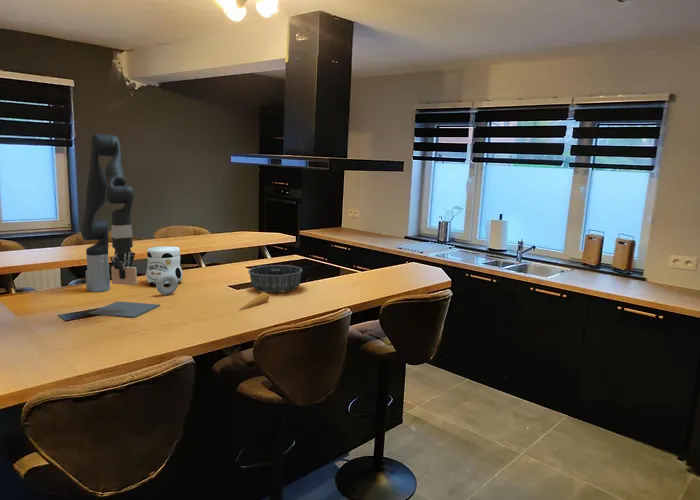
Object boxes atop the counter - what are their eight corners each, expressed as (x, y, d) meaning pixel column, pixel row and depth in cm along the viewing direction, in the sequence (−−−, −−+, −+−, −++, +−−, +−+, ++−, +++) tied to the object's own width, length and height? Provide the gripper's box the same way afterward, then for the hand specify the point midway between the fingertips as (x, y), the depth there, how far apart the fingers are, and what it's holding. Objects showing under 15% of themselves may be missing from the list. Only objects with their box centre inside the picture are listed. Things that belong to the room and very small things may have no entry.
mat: (88, 314, 200) (88, 312, 200) (117, 302, 217) (117, 301, 217) (134, 317, 196) (134, 316, 196) (159, 306, 214) (159, 304, 214)
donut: (157, 297, 228) (157, 275, 226) (155, 295, 231) (154, 274, 229) (179, 294, 234) (178, 273, 233) (176, 292, 237) (175, 271, 235)
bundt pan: (237, 292, 241) (237, 271, 239) (266, 281, 265) (266, 262, 264) (285, 298, 231) (286, 277, 230) (311, 286, 255) (311, 267, 254)
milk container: (148, 289, 243) (146, 252, 240) (144, 281, 258) (143, 246, 255) (185, 285, 251) (184, 250, 248) (179, 278, 266) (178, 245, 263)
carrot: (264, 301, 227) (261, 292, 227) (272, 299, 225) (268, 290, 225) (235, 317, 210) (231, 307, 210) (243, 314, 208) (239, 304, 208)
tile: (112, 283, 205) (111, 266, 204) (114, 282, 207) (114, 266, 206) (134, 285, 203) (133, 268, 202) (137, 284, 205) (136, 267, 204)
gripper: (124, 233, 209) (126, 274, 212) (102, 237, 196) (104, 281, 199) (140, 234, 208) (142, 275, 211) (119, 238, 195) (122, 282, 197)
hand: (124, 278), depth 205 cm, fingers closed on tile, 1 cm apart
